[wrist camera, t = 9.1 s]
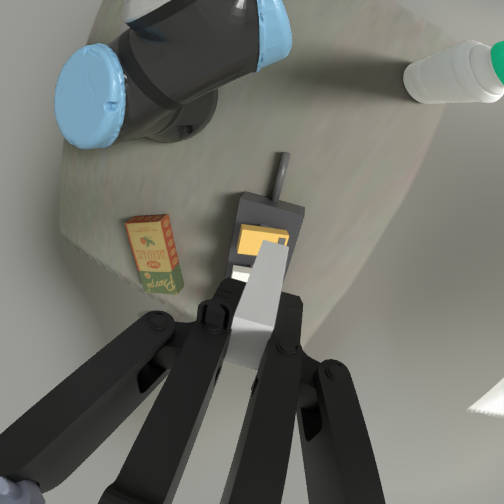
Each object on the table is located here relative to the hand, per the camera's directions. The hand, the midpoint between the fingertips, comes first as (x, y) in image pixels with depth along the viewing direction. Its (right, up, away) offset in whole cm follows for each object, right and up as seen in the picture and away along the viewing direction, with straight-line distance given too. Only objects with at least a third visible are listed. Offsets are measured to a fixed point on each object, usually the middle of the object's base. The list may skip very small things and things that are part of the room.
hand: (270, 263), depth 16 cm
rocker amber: (+1, +2, +26) cm, 26 cm away
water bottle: (+25, +27, +14) cm, 40 cm away
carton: (-20, +1, +38) cm, 43 cm away
